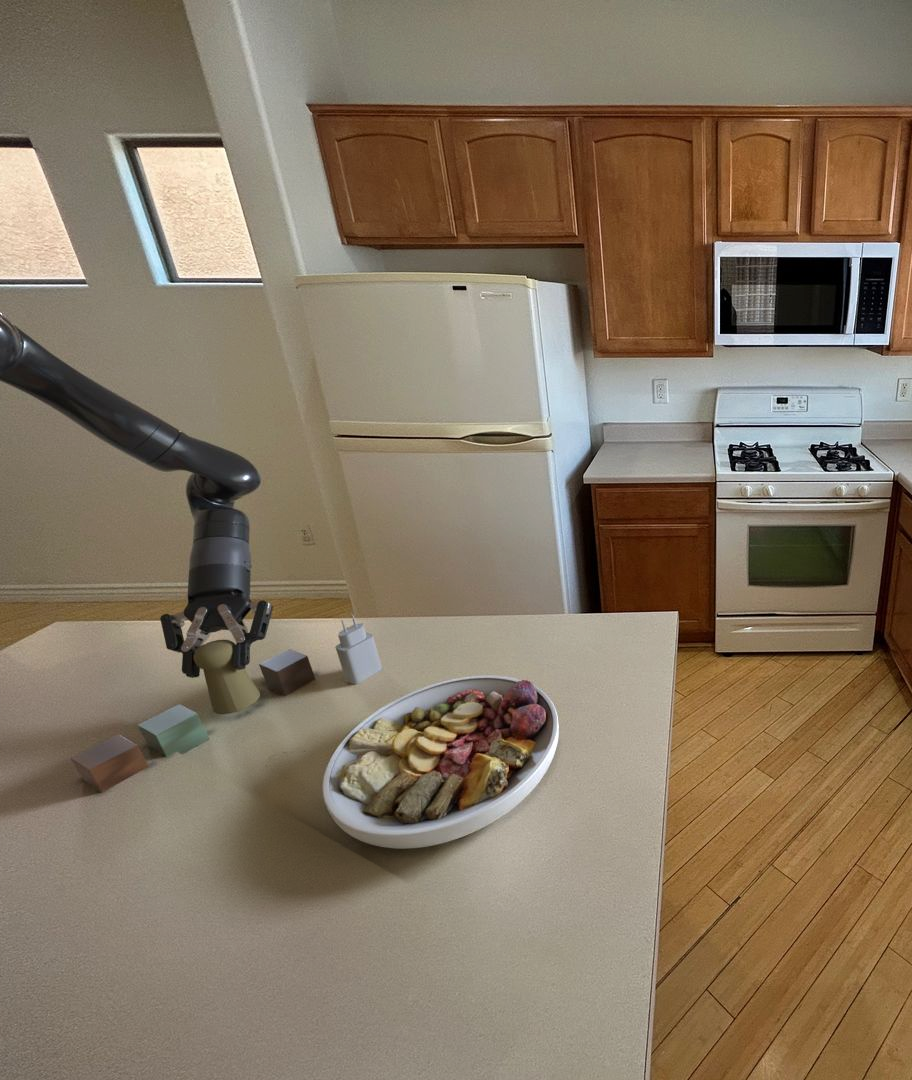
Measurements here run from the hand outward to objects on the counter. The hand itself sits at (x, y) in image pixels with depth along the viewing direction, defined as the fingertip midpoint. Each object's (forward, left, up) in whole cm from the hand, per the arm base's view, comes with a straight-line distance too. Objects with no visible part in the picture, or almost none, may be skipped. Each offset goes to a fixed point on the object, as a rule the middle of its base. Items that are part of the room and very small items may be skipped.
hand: (216, 672), depth 85 cm
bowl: (+7, -40, -9) cm, 41 cm away
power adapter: (+16, -8, -9) cm, 20 cm away
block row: (-3, +1, -9) cm, 10 cm away
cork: (+1, +1, -7) cm, 8 cm away
